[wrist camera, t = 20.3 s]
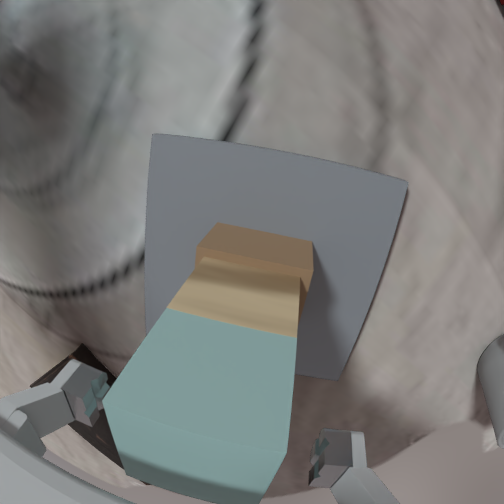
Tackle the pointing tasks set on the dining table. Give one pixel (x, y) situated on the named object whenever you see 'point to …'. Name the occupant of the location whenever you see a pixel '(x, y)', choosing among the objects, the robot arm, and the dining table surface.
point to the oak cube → (241, 296)
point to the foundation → (272, 232)
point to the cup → (494, 385)
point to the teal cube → (204, 408)
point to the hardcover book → (101, 429)
